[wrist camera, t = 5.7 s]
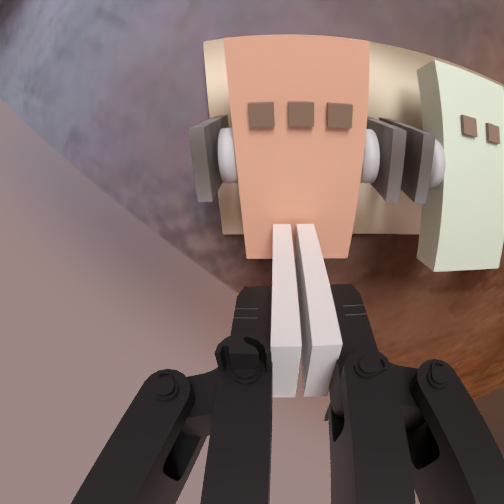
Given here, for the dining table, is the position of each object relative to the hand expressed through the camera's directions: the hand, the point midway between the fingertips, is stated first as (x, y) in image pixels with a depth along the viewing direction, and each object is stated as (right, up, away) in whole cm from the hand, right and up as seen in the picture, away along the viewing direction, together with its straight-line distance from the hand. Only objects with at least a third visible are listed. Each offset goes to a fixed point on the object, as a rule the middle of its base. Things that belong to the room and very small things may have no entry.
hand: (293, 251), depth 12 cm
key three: (0, +5, -1) cm, 5 cm away
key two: (+9, +5, -1) cm, 10 cm away
